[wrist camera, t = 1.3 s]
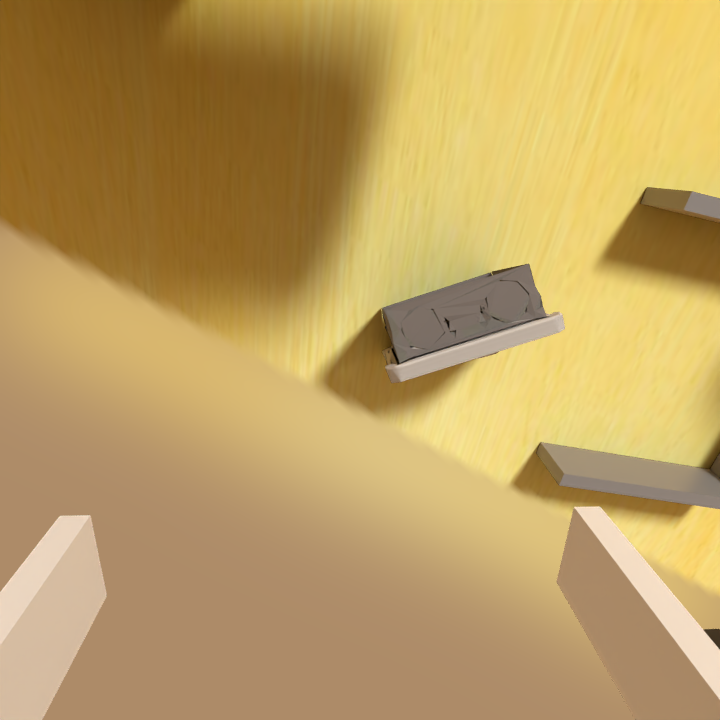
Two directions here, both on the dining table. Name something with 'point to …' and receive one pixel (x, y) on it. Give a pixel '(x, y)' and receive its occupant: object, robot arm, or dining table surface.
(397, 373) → the electrical switch
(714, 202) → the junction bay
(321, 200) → the dining table surface
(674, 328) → the dining table surface
